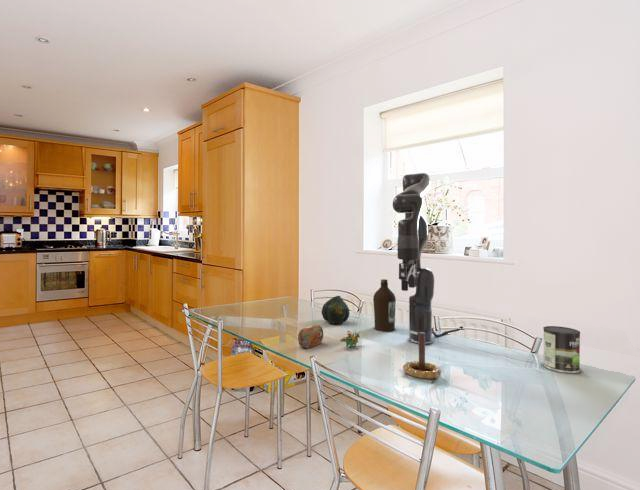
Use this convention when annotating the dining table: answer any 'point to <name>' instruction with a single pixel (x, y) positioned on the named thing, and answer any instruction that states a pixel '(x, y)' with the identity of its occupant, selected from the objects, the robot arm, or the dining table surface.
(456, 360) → the dining table surface
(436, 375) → the brass ring
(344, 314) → the squash
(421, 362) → the rack
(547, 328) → the coffee can
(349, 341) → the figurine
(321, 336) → the reddish brown stone
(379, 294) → the olive oil
